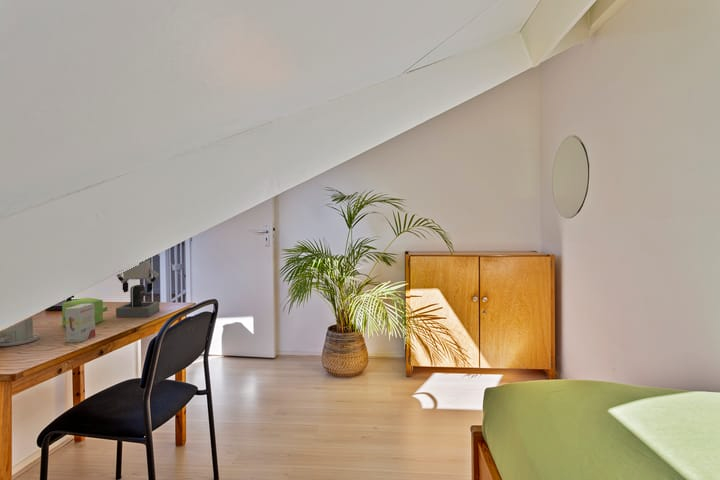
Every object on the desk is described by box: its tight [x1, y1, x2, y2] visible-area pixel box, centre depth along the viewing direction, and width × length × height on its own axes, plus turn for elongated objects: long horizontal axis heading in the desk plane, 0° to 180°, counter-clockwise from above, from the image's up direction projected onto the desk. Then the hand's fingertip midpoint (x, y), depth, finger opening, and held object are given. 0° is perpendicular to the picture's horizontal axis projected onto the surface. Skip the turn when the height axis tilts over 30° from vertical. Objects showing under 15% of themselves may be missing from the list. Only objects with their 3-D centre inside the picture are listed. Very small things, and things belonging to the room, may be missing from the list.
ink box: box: [65, 303, 96, 343], centre depth 141 cm, size 9×5×12 cm, turn 0°
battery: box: [129, 284, 146, 307], centre depth 178 cm, size 7×4×11 cm, turn 4°
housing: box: [115, 301, 160, 319], centre depth 179 cm, size 13×13×4 cm
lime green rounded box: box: [61, 297, 108, 327], centre depth 160 cm, size 18×10×10 cm, turn 167°
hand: (137, 291), depth 178 cm, fingers open, 9 cm apart
